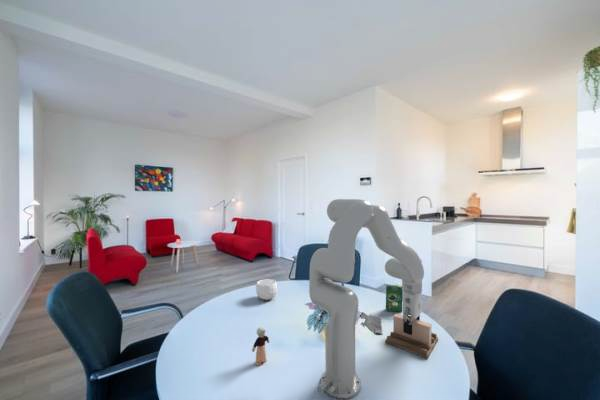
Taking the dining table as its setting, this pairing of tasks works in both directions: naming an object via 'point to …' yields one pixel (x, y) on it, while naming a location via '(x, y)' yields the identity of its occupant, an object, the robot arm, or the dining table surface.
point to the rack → (412, 344)
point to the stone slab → (372, 323)
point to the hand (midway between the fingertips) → (411, 328)
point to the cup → (266, 289)
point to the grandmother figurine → (260, 346)
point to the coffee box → (394, 298)
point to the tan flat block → (414, 329)
